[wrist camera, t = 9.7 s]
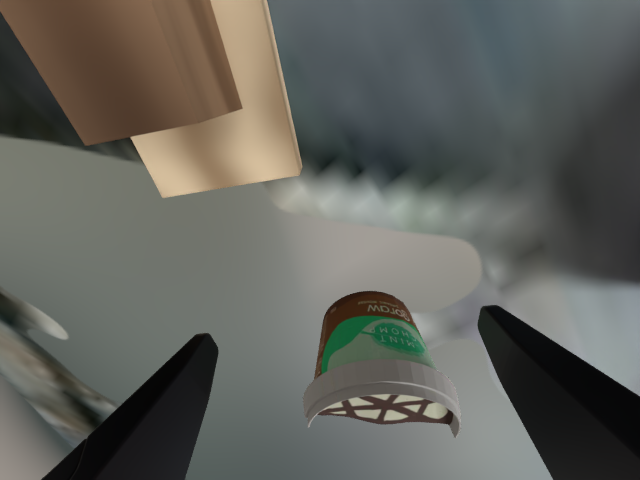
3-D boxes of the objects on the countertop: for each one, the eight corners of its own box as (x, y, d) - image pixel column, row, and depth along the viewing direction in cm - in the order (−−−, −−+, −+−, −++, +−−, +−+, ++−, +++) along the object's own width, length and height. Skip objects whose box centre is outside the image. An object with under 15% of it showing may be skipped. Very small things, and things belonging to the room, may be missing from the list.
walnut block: (208, -5, 12) (124, -65, 7) (242, 108, 15) (198, 123, 10) (116, 19, 13) (-20, -21, 8) (165, 124, 16) (85, 145, 10)
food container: (441, 287, 25) (500, 397, 16) (422, 329, 28) (463, 439, 19) (313, 276, 24) (305, 382, 16) (309, 320, 28) (300, 427, 19)
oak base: (236, -142, 11) (220, -181, 10) (302, 166, 19) (299, 175, 17) (45, -80, 13) (0, -105, 11) (176, 187, 20) (162, 197, 18)
